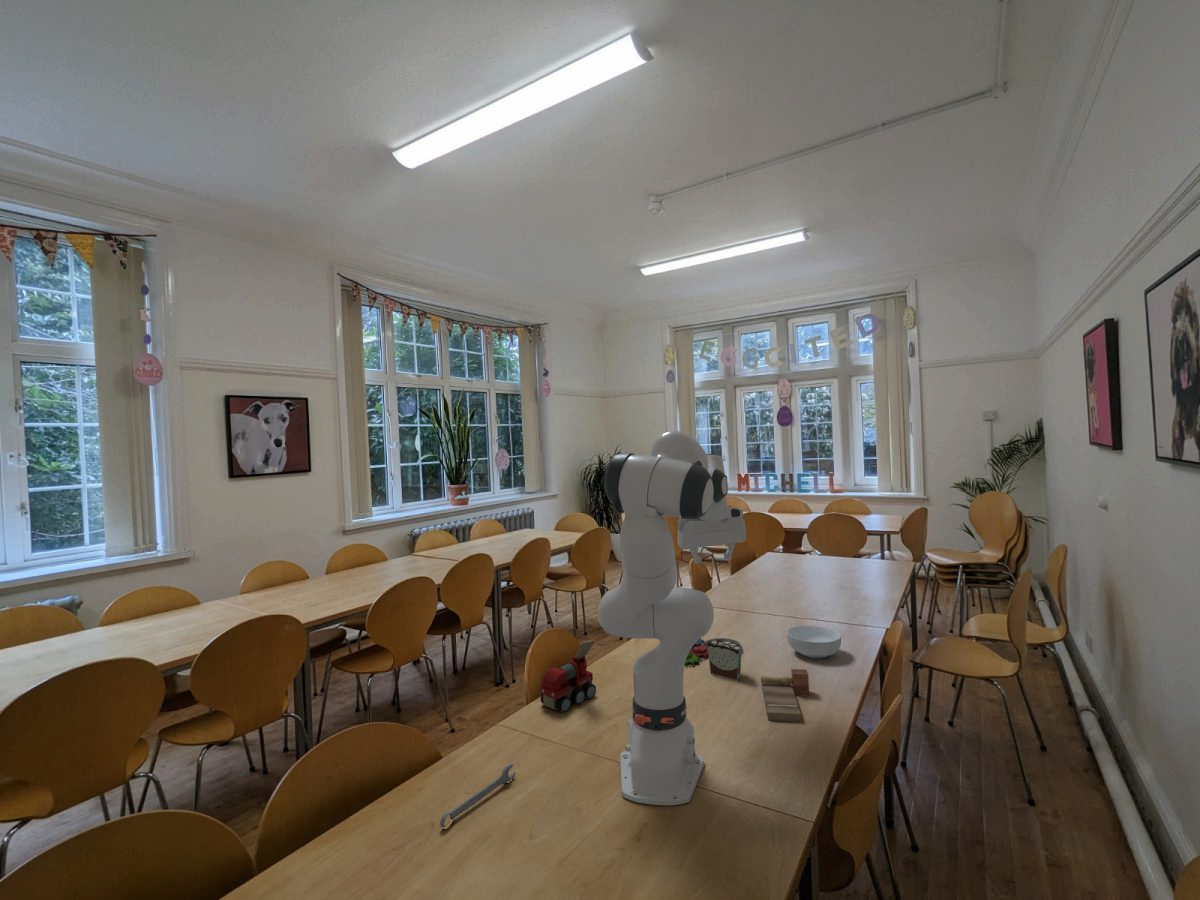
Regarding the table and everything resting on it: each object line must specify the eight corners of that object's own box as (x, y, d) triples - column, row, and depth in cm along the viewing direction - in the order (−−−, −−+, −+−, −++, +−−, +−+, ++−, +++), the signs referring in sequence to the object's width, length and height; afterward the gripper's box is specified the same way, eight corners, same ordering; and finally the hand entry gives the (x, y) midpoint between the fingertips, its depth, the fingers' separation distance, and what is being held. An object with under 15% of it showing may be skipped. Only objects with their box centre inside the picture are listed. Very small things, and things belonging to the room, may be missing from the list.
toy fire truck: (538, 707, 154) (535, 643, 154) (578, 687, 165) (575, 628, 165) (566, 719, 146) (563, 652, 146) (606, 698, 157) (603, 636, 157)
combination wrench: (442, 816, 104) (517, 762, 120) (438, 814, 105) (513, 760, 121) (443, 836, 104) (518, 779, 120) (439, 833, 105) (514, 777, 121)
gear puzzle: (676, 680, 168) (675, 666, 168) (634, 667, 179) (634, 655, 179) (727, 649, 192) (726, 637, 192) (687, 640, 202) (687, 629, 202)
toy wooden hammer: (809, 696, 153) (808, 674, 153) (761, 693, 156) (761, 672, 156) (807, 690, 156) (806, 669, 156) (760, 688, 159) (760, 667, 159)
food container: (752, 675, 168) (750, 642, 168) (742, 682, 163) (740, 648, 163) (716, 666, 176) (715, 634, 176) (706, 672, 172) (704, 640, 172)
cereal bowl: (826, 668, 171) (825, 645, 171) (778, 655, 183) (777, 633, 183) (851, 653, 182) (850, 632, 182) (804, 641, 195) (803, 621, 195)
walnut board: (801, 722, 139) (800, 713, 139) (768, 720, 141) (767, 712, 141) (790, 687, 159) (790, 680, 159) (761, 686, 160) (761, 679, 160)
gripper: (682, 516, 148) (685, 568, 148) (748, 510, 154) (750, 559, 155) (672, 514, 154) (674, 563, 154) (735, 507, 160) (737, 555, 161)
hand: (713, 561), depth 154 cm, fingers open, 8 cm apart
